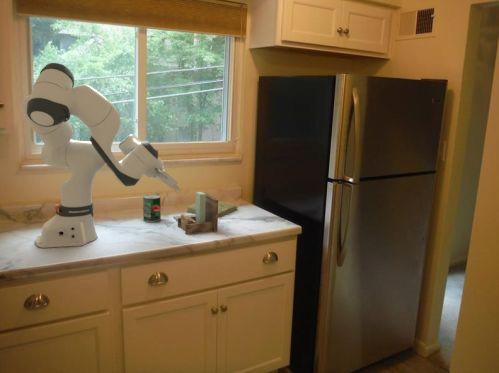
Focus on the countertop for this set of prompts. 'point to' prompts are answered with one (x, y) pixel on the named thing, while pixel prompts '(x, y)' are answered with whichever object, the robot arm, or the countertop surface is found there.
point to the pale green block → (200, 207)
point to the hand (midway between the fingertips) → (176, 188)
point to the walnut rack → (210, 218)
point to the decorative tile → (222, 208)
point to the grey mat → (180, 216)
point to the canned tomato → (151, 208)
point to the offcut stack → (186, 221)
